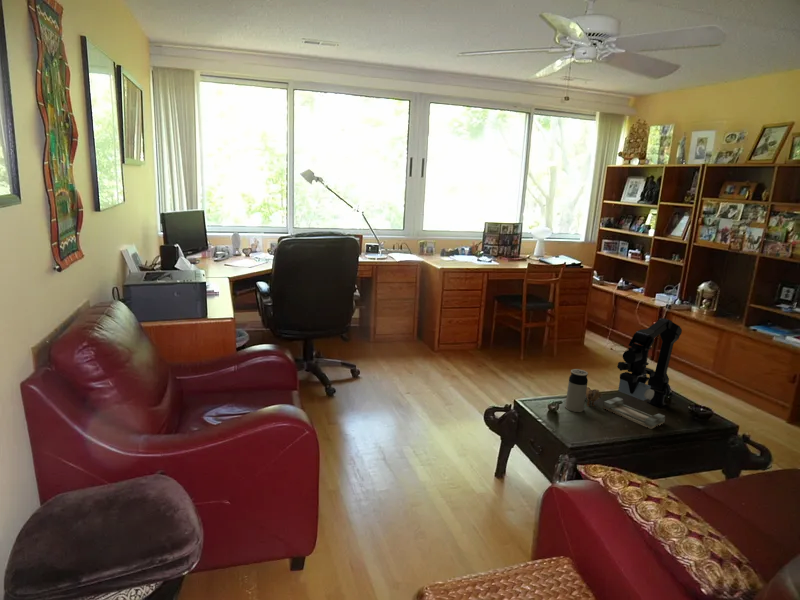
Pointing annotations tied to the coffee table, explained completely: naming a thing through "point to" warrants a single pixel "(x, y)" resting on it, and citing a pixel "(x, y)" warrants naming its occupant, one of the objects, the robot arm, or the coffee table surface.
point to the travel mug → (576, 390)
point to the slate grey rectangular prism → (637, 390)
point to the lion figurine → (592, 395)
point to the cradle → (633, 413)
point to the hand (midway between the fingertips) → (634, 392)
